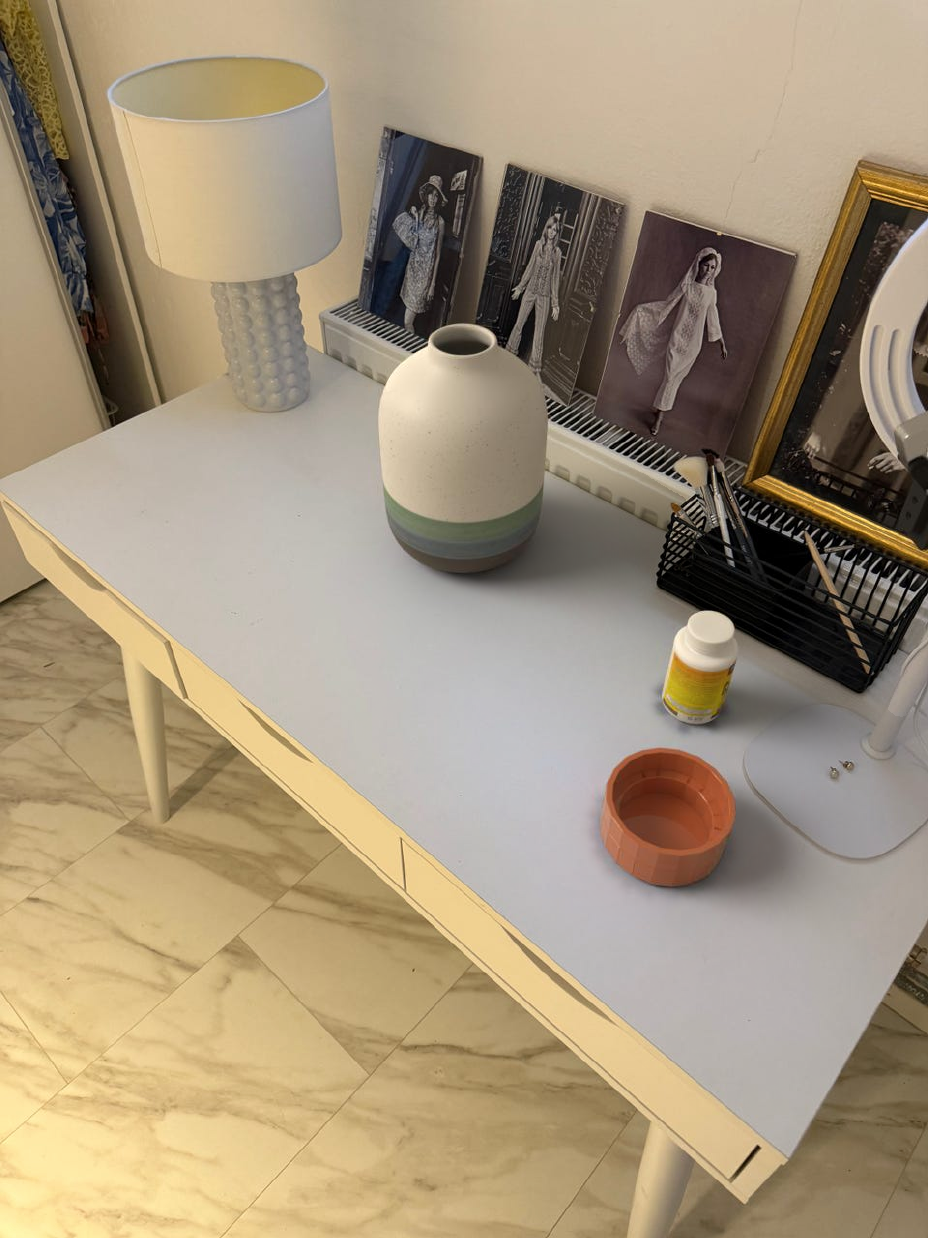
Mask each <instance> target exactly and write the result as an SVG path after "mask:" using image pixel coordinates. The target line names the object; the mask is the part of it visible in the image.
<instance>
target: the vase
mask: <svg viewBox="0 0 928 1238" xmlns="http://www.w3.org/2000/svg"><path fill="white" fill-rule="evenodd" d="M548 415H549V414H548V404H547V399H546V396H545V392H544V390H543V387H542V384H541V383H540V381H539V379H538V377H537V376H536V374H535V372H534V371H533V370H532V369H531V367H529V366H528V365H527V364H526V363H525V361H523V360H522V359H520V358H519V357H518V356H516V355H515V354H513V353H512V352H510V351H508V349H505V348H503V347H501V346H499V345H498V339H497V337H496V335H495V334H494V332H493V331H491V330H490V329H489V328H486V327H484V326H482V325H477V324H472V323H454V324H449V325H445V326H442V327H439V328H438V329H436V330H434V332H432V333H431V334H430V335H429V338H428V342H427V345H426V346H425V347H423V348H422V349H421V348H420V349H419V350H418V351H416V352H415V353H413V354H411V355H410V356H408V357H407V358H406V359H404V360H403V361H402V362H401V363H400V364H399V365H398V366H397V367H396V368H395V369H394V370H393V372H392V373H391V374H390V376H389V377H388V379H387V381H386V383H385V386H384V387H383V391H382V394H381V397H380V400H379V407H378V417H377V420H378V421H377V423H378V424H377V426H378V441H379V452H380V453H379V454H380V466H381V477H382V490H383V501H384V508H385V514H386V515H385V516H386V518H387V522H388V525H389V526H388V527H389V528H390V530H391V533H392V535H393V536H394V538H395V540H396V541H397V543H398V544H399V546H400V547H401V548H402V549H403V551H404V552H405V553H406V554H407V555H409V556H410V557H411V558H412V559H414V560H415V561H417V562H419V563H421V565H422V564H423V565H424V566H427V567H429V568H432V569H435V570H439V571H442V572H446V573H447V572H449V573H455V574H456V573H458V574H471V573H478V572H479V573H480V572H484V571H488V570H491V569H495V568H498V567H500V566H502V565H504V564H506V563H508V562H510V561H512V560H513V559H514V558H516V557H517V556H518V555H519V554H521V552H523V550H525V548H527V546H528V544H529V543H530V541H531V540H532V538H533V537H534V535H535V532H536V531H537V528H538V525H539V522H540V518H541V514H542V507H543V506H542V505H543V499H544V488H545V487H544V486H545V472H546V458H547V445H548V428H549V416H548Z"/></svg>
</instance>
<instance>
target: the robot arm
mask: <svg viewBox="0 0 928 1238" xmlns="http://www.w3.org/2000/svg"><path fill="white" fill-rule="evenodd" d="M893 436H894V441H895V447H896V452H897V460H898V462H899V463H900V464H901V465H902V466H903V467H904V469H905V470H906V471H907V472H908V474H909V475H910V476H911V477H912V478H913V481H912V484H911V486H910V489H909V491H908V494H907V495H906V497H905V501H904V504H903V505H902V508H901V510H900V513H899V516H898V524H899V526H900V527H901V528H902V530H903V532H905V534H906V535H907V536H908V537H909V539H910V541H912V542H913V544H914V545H915V547H916V548H917V549H918V551H920V552H921V551H923V552H924V551H928V410H926V411H924V412H922V413H920V414H918V415H916V416H914V417H911V418H909V419H907V420H905V421H903V422H901V423H900V424H898V425H897V426H896V427H895V428H894V429H893Z"/></svg>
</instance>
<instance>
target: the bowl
mask: <svg viewBox="0 0 928 1238" xmlns="http://www.w3.org/2000/svg"><path fill="white" fill-rule="evenodd" d="M736 815H737V814H736V799H735V796H734V794H733V792H732V790H731V787H730V785H729V783H728V781H727V780H726V778H724V776H723V775H722V774H721V773H720V772H719V771H718V769H716V768H715V767H714V766H713V765H711V764H710V763H708V762H707V761H706V760H704V759H702V757H700V756H697V755H695V754H693V753H690V752H687V751H685V750H682V749H678V748H677V749H676V748H668V747H655V748H654V747H653V748H646V749H642V750H639V751H636V752H634V753H632V754H630V755H628V756H626V757H625V758H624V759H623V760H621V761H620V762H619V763H618V764H617V765H616V766H615V767H614V768H613V769H612V771H611V774H610V775H609V778H608V780H607V782H606V786H605V791H604V798H603V803H602V809H601V814H600V826H599V827H600V829H599V830H600V835H601V839H602V841H603V844H604V847H605V850H606V851H607V852H608V853H609V855H610V857H611V858H612V860H613V861H614V862H615V863H616V864H617V865H618V866H619V867H621V869H623V870H624V871H626V873H628V874H629V875H631V876H632V877H634V878H637V879H640V880H641V881H644V882H646V883H648V884H651V885H655V886H663V887H671V888H672V887H679V886H680V887H681V886H685V885H686V886H687V885H692V884H694V883H695V882H698V881H700V880H702V879H704V878H706V877H707V876H709V875H710V873H712V871H713V870H714V869H715V868H716V867H717V866H718V865H719V864H720V862H721V859H722V856H723V853H724V850H725V848H726V845H727V842H728V840H729V836H730V834H731V831H732V829H733V826H734V822H735V819H736Z"/></svg>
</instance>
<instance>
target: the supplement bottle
mask: <svg viewBox="0 0 928 1238" xmlns="http://www.w3.org/2000/svg"><path fill="white" fill-rule="evenodd" d="M735 630H736V629H735V625H734V623H733V621H732V620H731V618H729V617H728V616H726V615H725V614H723V613H721V612H718V611H714V610H702V611H698V612H695V613H694V614H692V615H691V616H690V617H689V619H688V621H687V624H686V625H685V626H683V627H682V628H680V629H679V630H678V631H677V633H676V634H675V636H674V639H673V643H672V647H671V652H670V656H669V659H668V665H667V668H666V673H665V678H664V683H663V688H662V693H661V700H662V704H663V707H664V708H665V710H666V711H667V713H669V714H670V716H672V717H673V718H675V720H676V719H677V720H678V721H680V722H683V723H685V724H691V725H703V724H706V723H710V722H711V721H714V720H715V719H716V718H718V716H719V715H720V713H721V711H722V709H723V706H724V704H725V700H726V696H727V693H728V690H729V686H730V683H731V680H732V676H733V674H734V670H735V666H736V663H737V660H738V656H739V645H738V642H737V640H736V638H735V637H734V636H735Z"/></svg>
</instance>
